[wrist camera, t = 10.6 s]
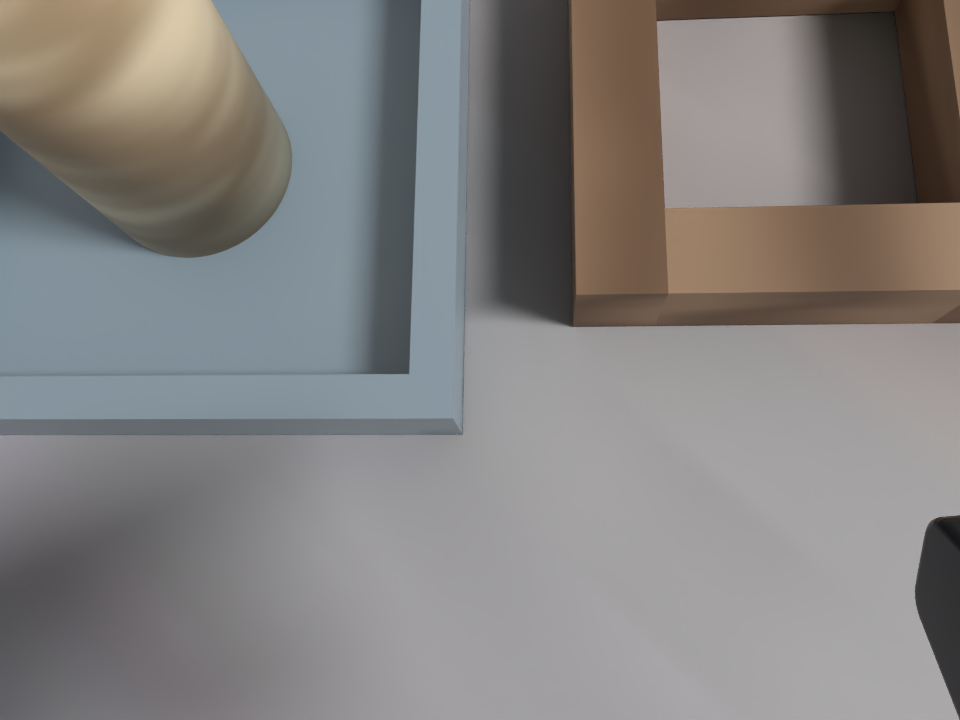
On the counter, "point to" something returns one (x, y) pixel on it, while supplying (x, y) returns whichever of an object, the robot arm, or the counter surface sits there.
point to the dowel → (145, 117)
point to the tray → (267, 256)
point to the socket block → (753, 230)
